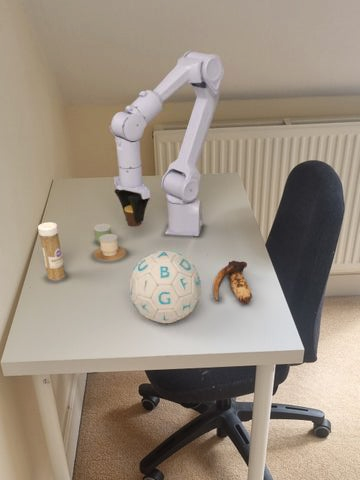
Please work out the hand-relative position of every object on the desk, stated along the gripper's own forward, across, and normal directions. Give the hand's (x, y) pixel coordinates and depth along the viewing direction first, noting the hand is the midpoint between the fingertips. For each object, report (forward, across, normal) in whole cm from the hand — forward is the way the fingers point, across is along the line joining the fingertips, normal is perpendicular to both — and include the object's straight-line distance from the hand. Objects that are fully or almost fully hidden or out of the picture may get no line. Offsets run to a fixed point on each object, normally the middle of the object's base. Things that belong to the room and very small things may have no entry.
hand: (134, 218), depth 155 cm
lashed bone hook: (+8, +36, +4) cm, 37 cm away
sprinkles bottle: (+8, +4, -26) cm, 27 cm away
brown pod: (+1, 0, 0) cm, 1 cm away
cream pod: (+7, +1, -8) cm, 11 cm away
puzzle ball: (+8, +37, -15) cm, 40 cm away
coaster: (+8, +1, -8) cm, 11 cm away
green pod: (+8, -8, -6) cm, 12 cm away
